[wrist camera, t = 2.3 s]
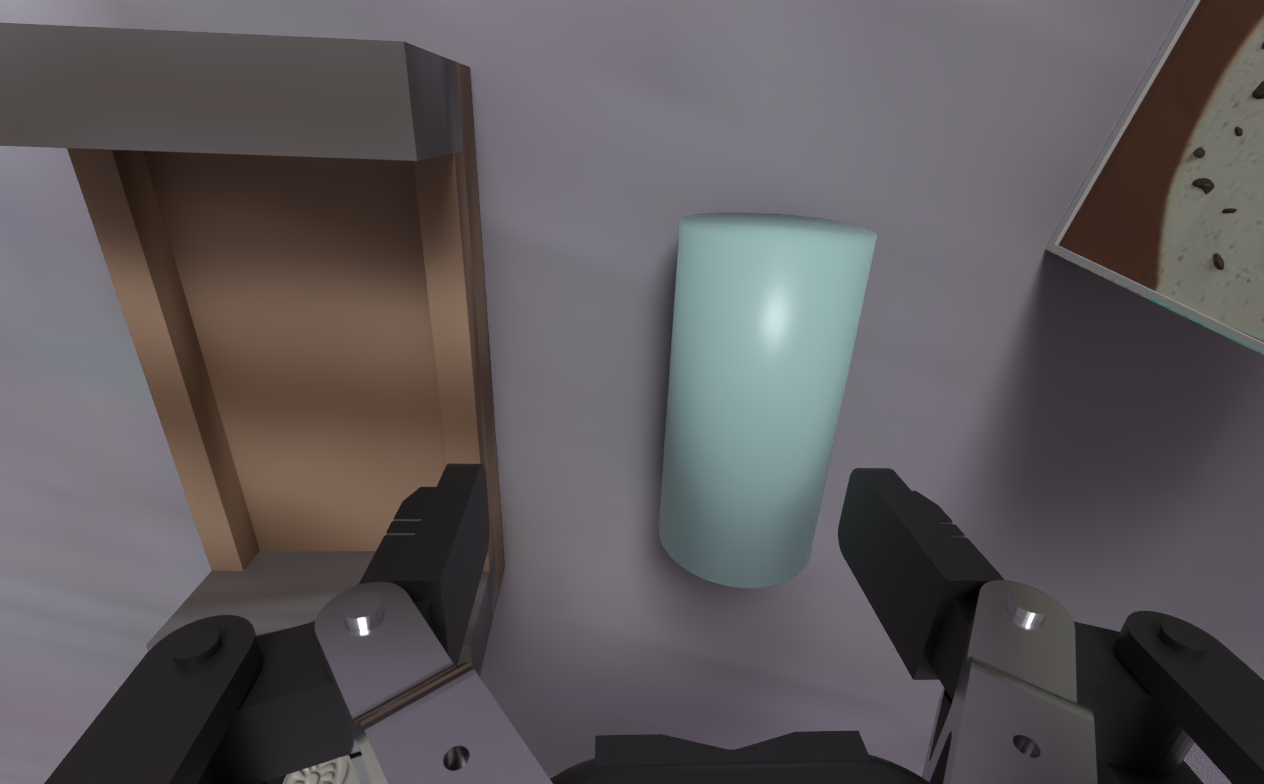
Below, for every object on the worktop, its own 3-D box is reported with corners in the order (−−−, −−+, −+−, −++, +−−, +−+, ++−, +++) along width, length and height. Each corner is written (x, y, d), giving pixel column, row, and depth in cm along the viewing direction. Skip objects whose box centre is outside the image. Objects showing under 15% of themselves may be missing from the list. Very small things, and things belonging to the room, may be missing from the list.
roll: (649, 229, 14) (866, 254, 12) (714, 207, 18) (884, 224, 16) (633, 554, 18) (793, 610, 16) (689, 477, 22) (822, 515, 21)
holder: (116, 51, 15) (-127, 16, 10) (469, 67, 15) (403, 41, 10) (266, 565, 22) (167, 694, 17) (504, 566, 23) (475, 692, 18)
